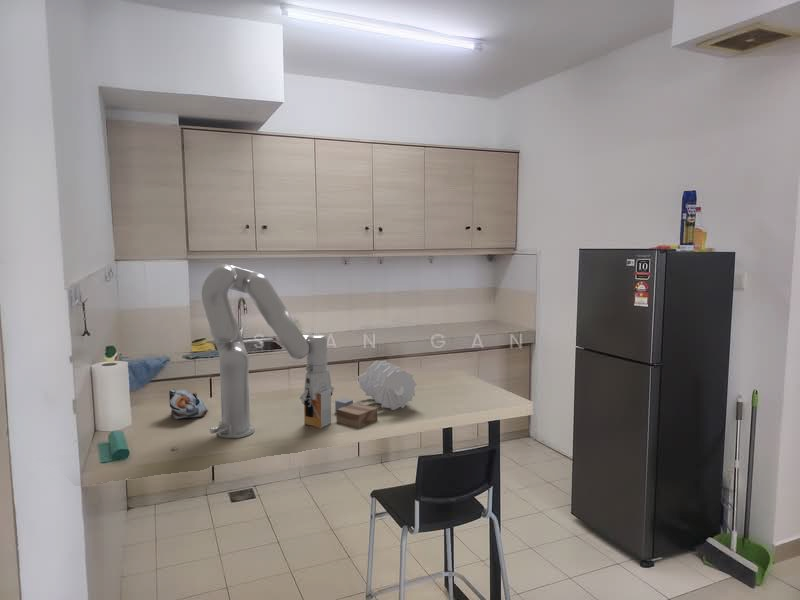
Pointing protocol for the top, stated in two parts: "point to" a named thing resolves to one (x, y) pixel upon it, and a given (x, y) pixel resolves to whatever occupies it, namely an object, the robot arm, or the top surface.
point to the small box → (320, 410)
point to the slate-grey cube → (342, 403)
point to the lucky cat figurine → (186, 404)
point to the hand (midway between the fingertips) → (317, 413)
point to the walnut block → (356, 414)
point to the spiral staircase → (387, 385)
